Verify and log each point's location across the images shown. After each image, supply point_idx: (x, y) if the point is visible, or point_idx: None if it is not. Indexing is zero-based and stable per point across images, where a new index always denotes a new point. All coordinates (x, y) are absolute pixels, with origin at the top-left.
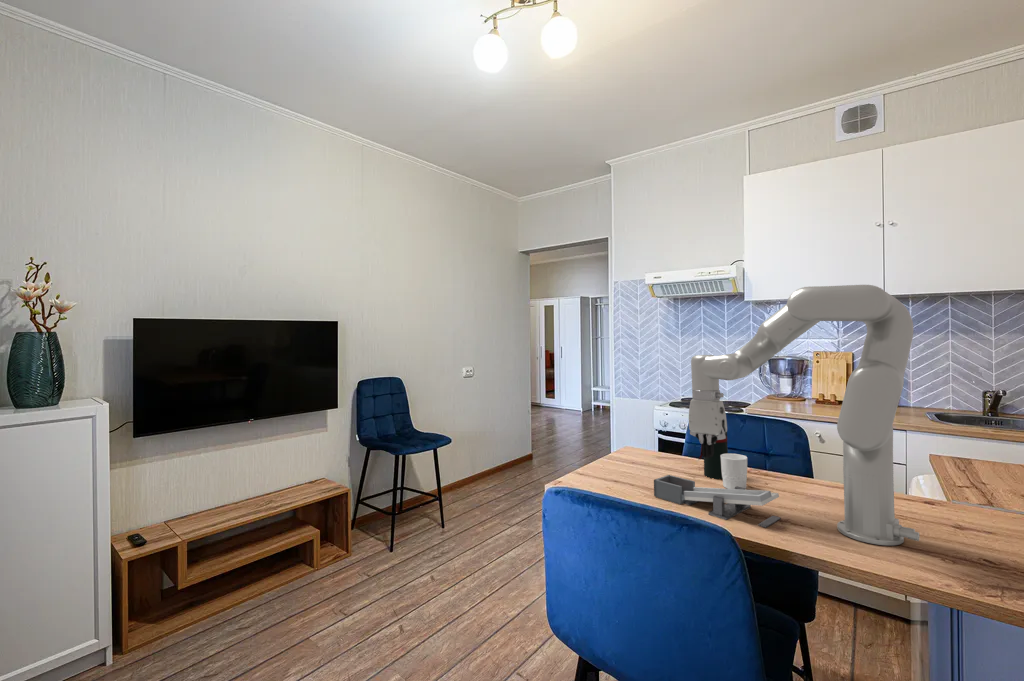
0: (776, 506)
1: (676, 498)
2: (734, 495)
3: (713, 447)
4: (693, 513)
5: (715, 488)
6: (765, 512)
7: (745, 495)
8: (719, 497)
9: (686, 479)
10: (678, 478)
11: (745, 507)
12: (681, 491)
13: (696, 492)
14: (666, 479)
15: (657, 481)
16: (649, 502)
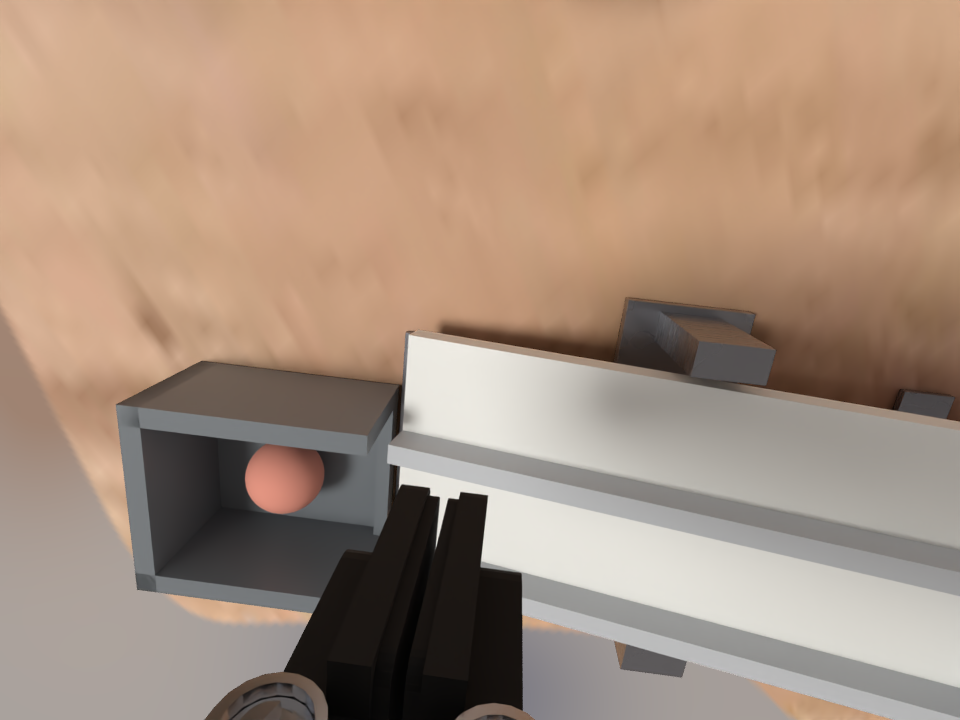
0: (909, 162)
1: None
2: (778, 681)
3: (518, 674)
4: None
5: (568, 496)
6: (848, 342)
7: (874, 712)
8: (661, 661)
9: (294, 435)
10: (229, 438)
11: (733, 382)
12: None
13: None
14: (159, 459)
15: (172, 589)
16: None
